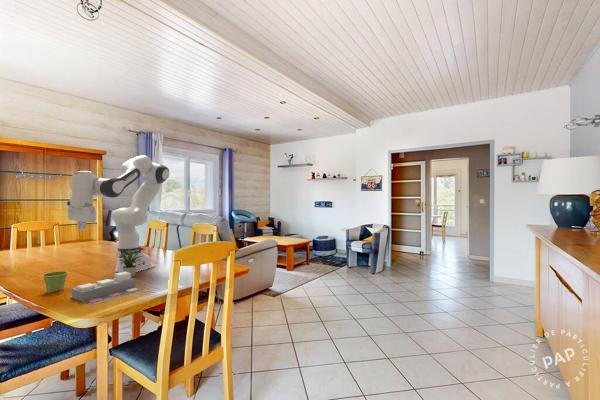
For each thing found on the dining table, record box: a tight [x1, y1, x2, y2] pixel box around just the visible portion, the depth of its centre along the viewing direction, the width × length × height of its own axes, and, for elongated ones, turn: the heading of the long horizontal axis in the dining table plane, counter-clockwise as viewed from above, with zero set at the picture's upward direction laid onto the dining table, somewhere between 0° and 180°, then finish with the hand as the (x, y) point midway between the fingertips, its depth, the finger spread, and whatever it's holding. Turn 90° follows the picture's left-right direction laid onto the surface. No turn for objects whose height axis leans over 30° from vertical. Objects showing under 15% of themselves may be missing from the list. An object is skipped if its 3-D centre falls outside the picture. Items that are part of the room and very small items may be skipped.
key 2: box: [114, 272, 132, 282], centre depth 140 cm, size 5×5×5 cm
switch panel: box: [67, 277, 145, 306], centre depth 132 cm, size 23×20×5 cm
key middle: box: [96, 278, 114, 286], centre depth 133 cm, size 5×5×5 cm
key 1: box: [76, 282, 95, 291], centre depth 126 cm, size 5×5×5 cm
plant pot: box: [41, 270, 69, 294], centre depth 135 cm, size 9×9×9 cm
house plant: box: [117, 250, 142, 277], centre depth 159 cm, size 14×14×16 cm
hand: (81, 230), depth 141 cm, fingers closed
